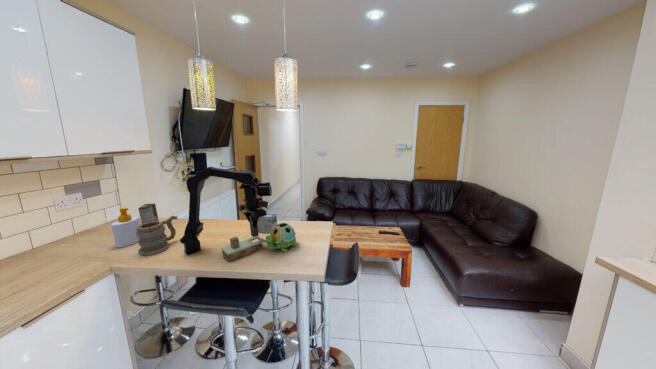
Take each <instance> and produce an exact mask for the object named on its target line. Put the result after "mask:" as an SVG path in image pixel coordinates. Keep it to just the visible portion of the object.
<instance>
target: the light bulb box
mask: <svg viewBox="0 0 656 369" xmlns="http://www.w3.org/2000/svg"><path fill="white" fill-rule="evenodd" d="M266 213H267V215H266V216H263V217H259V218H258V222H257V224H258V233H261V234H264V233H265V234H271V232H272V230H273V228H274V227H275V226H276V225H278V218H277V217H278V216H277V212H266Z"/></svg>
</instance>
